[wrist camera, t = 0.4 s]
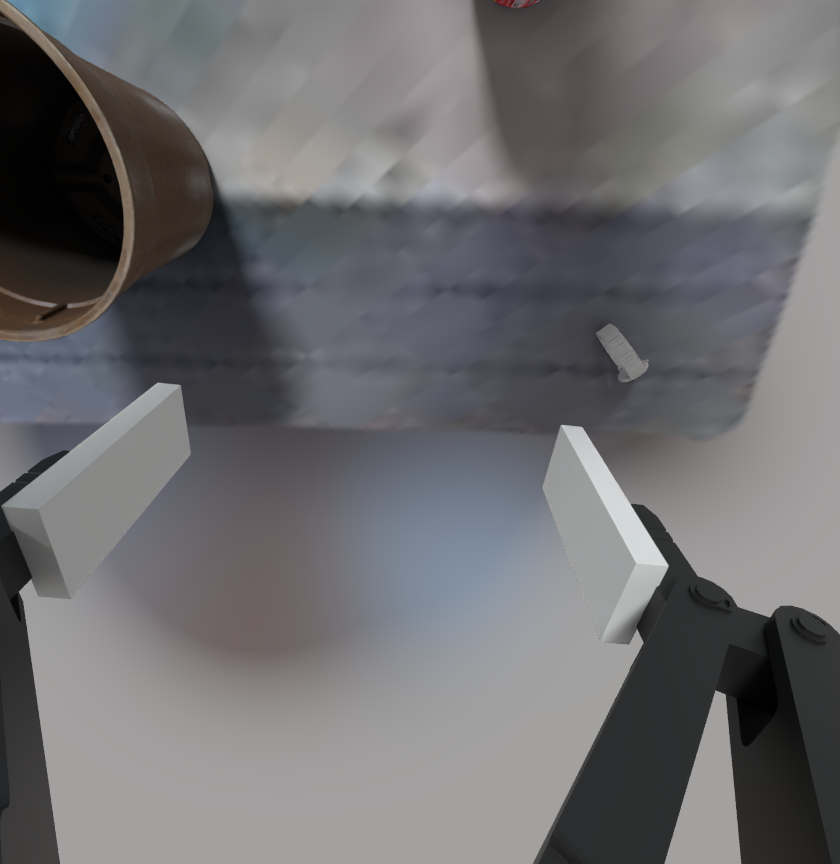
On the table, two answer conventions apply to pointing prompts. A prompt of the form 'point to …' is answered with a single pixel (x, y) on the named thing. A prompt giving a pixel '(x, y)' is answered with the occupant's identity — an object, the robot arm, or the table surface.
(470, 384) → the table surface
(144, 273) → the plant pot
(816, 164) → the table surface
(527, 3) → the soda can
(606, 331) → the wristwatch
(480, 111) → the table surface
